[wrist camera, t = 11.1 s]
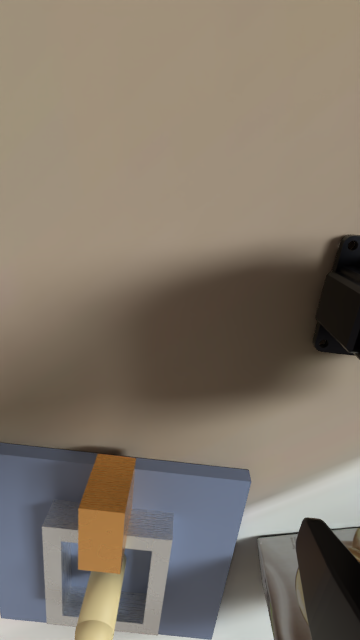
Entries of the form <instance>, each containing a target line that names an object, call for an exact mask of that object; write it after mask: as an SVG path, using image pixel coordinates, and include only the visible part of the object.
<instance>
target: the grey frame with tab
mask: <svg viewBox="0 0 360 640" xmlns="http://www.w3.org/2000/svg"><path fill="white" fill-rule="evenodd" d="M135 466H136V458H132V457H123V456H114V455H106V454H97V457H96V460H95V463H94V466H93V469H92V471H91V474H90V477H89V480H88V483H87V486H86V488H85V491H84V494H83V497H82V500H81V502H72V501H63V500H53V503H52V505H51V507H50V509H49V512H48V514H47V516H46V518H45V521H44V523H43V525H42V539H43V559H44V579H45V599H46V620H47V624H54V625H64V626H73V627H76V626H77V623H78V619H79V615H80V611H81V607H82V603H83V600H84V596H85V592H86V588H87V587H77V586H71V543H78V570H86V571H96V572H105V573H115V574H120V573H121V567H122V562H123V556H124V551H125V548H127V549H136V550H146V551H152V553H151V561H150V570H149V578H148V586H147V594H144V593H134V592H125V591H121V595H120V601H119V607H118V612H117V618H116V624H115V630H114V631H121V632H131V633H140V634H150V635H158V631H159V624H160V618H161V611H162V605H163V598H164V592H165V585H166V579H167V573H168V566H169V560H170V553H171V547H172V539H173V520H174V513H173V512H163V511H154V510H145V509H136V508H132V501H133V489H134V477H135Z"/></svg>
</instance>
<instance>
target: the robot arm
mask: <svg viewBox="0 0 360 640" xmlns="http://www.w3.org/2000/svg"><path fill="white" fill-rule="evenodd" d="M351 241H354V242H355V244H354V247H353V248H352V249H348V244H349V242H351ZM316 319H317V321H318V323H317V326H316V330H315V333H314V337H313V342H312V343H313V345H314V347H315V348H316V349H317V350H318V351H321V352H329V353H337V354H346V355H355V356H356V357H357V358H358V359H359V360H360V235H347V236H345V237H344V238H343V239H342V240H341V242H340V245H339V248H338V252H337V255H336V259H335V262H334V266H333V270H332V271H331V272H330V273H329V274H328V275H327V277H326V280H325V284H324V288H323V291H322V295H321V298H320V302H319V306H318V309H317V313H316ZM322 340H326V342H325V343H324V344H323V345H319V343H320V341H322ZM296 555H297V561H298V566H299V572H300V578H301V584H302V590H303V596H304V602H305V608H306V614H307V619H308V624H309V629H310V633H311V638H312V640H360V562H359V561H358V560H357V559H356V558H355V557H354V556H353V554H352V553H351V552H350V551H349V550H348V549H347V547H346V546H345V545H344V544H343V543H342V542H341V541H340V539H339V538H338V537H337V536H336V535H335V534H334V533H333V531H332V530H331V529H330V528H329V527H328V526H327V524H326V523H325V522H324V521H322V520H321V519H317V518H304V519H303V521H302V524H301V527H300V530H299V533H298V535H297V538H296Z"/></svg>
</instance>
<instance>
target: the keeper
mask: <svg viewBox="0 0 360 640" xmlns="http://www.w3.org/2000/svg"><path fill="white" fill-rule="evenodd" d="M97 454H98V453H89V452H80V451H71V450H62V449H53V448H44V447H34V446H25V445H16V444H7V443H0V613H1V618H5V619H15V620H25V621H35V622H44V623H47V620H46V599H45V579H44V559H43V539H42V525H43V523H44V521H45V518H46V516H47V514H48V512H49V509H50V507H51V505H52V503H53V500H63V501H72V502H81V500H82V497H83V494H84V491H85V488H86V486H87V483H88V480H89V477H90V474H91V471H92V469H93V466H94V463H95V460H96V457H97ZM106 455H107V454H106ZM114 456H116V455H114ZM123 457H125V456H123ZM132 458H135V457H132ZM250 484H251V479H250V474H249V470H244V469H235V468H226V467H216V466H207V465H198V464H189V463H180V462H171V461H162V460H153V459H144V458H136V466H135V477H134V489H133V501H132V508H136V509H145V510H154V511H163V512H173V513H174V520H173V539H172V547H171V553H170V560H169V566H168V573H167V579H166V585H165V592H164V598H163V605H162V611H161V618H160V624H159V631H158V634H161V635H171V636H181V637H190V638H200V639H210V640H211V639H212V635H213V631H214V628H215V624H216V620H217V616H218V612H219V608H220V604H221V600H222V596H223V592H224V588H225V584H226V580H227V576H228V572H229V568H230V564H231V560H232V556H233V552H234V548H235V544H236V540H237V536H238V532H239V528H240V524H241V520H242V516H243V512H244V508H245V504H246V500H247V496H248V492H249V488H250ZM151 553H152V551H146V550H136V549H127V548H125V551H124V556H123V562H122V567H121V573H120V574H115V573H105V572H96V571H86V570H78V543H71V586H77V587H87V588H86V592H85V596H84V600H83V603H82V607H81V611H80V615H79V619H78V623H77V626H76V631H75V640H112V639H113V635H114V630H115V624H116V618H117V612H118V607H119V601H120V595H121V591H125V592H134V593H144V594H147V586H148V578H149V570H150V561H151Z"/></svg>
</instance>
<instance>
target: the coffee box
mask: <svg viewBox="0 0 360 640" xmlns="http://www.w3.org/2000/svg"><path fill="white" fill-rule="evenodd" d="M332 531H333V533H334V534H335V535H336V536H337V537H338V538H339V539H340V541H341V542H342V543H343V544H344V545H345V546H346V547H347V549H348V550H349V551H350V552H351V553H352V554H353V556H354V557H355V558H356V559H357V560H358V561H359V562H360V528H351V529H341V530H332ZM297 535H298V534H292V535H282V536H273V537H263V538H258V550H259V559H260V568H261V577H262V583H263V588H264V592H265V597H266V602H267V606H268V611H269V616H270V621H271V627H272V631H273V636H274V640H312V638H311V633H310V629H309V624H308V619H307V614H306V608H305V602H304V596H303V590H302V584H301V578H300V572H299V566H298V561H297V555H296V538H297Z"/></svg>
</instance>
